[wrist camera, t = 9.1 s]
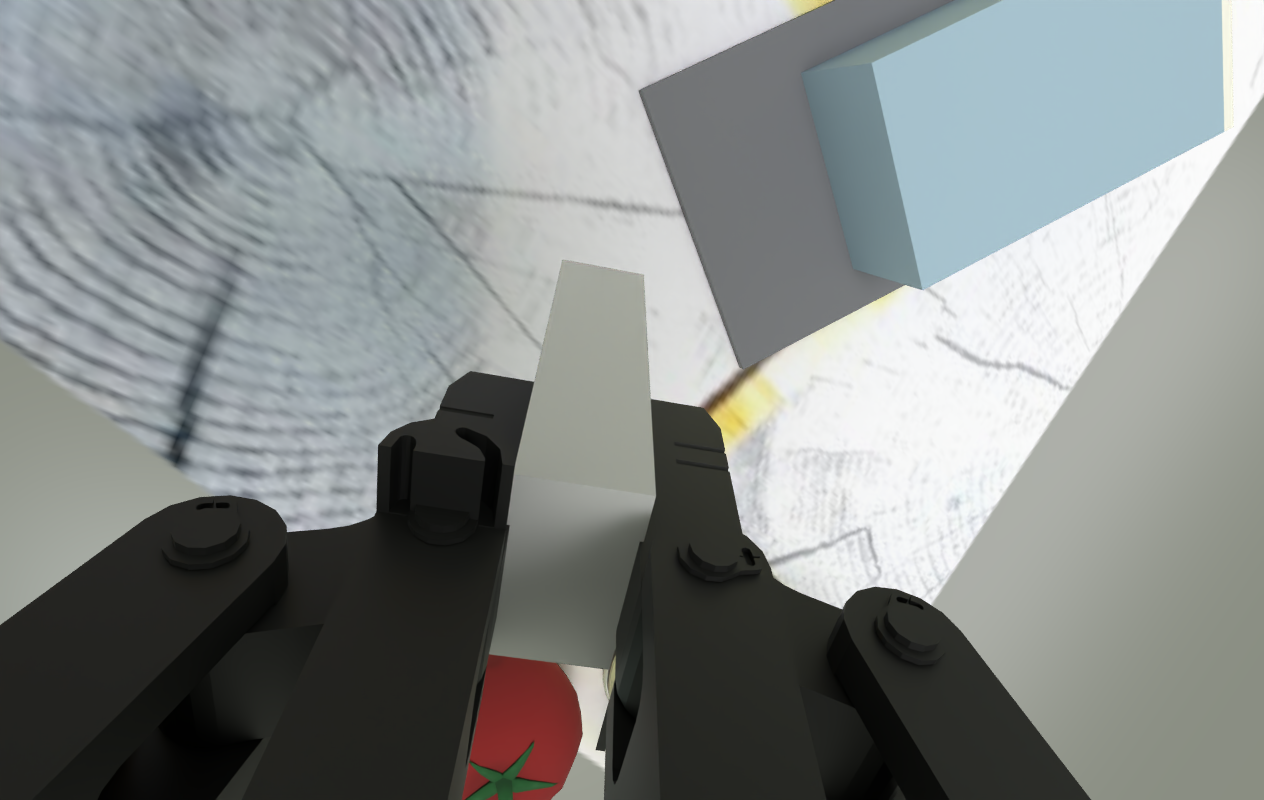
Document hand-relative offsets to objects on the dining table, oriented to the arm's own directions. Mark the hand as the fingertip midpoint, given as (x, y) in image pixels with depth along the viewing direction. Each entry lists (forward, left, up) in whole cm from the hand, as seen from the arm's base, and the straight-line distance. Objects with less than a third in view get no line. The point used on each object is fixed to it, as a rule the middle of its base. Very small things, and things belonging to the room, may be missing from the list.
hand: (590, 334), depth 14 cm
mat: (-15, +14, -17) cm, 26 cm away
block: (-10, +11, -14) cm, 20 cm away
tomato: (+19, +13, -17) cm, 28 cm away
